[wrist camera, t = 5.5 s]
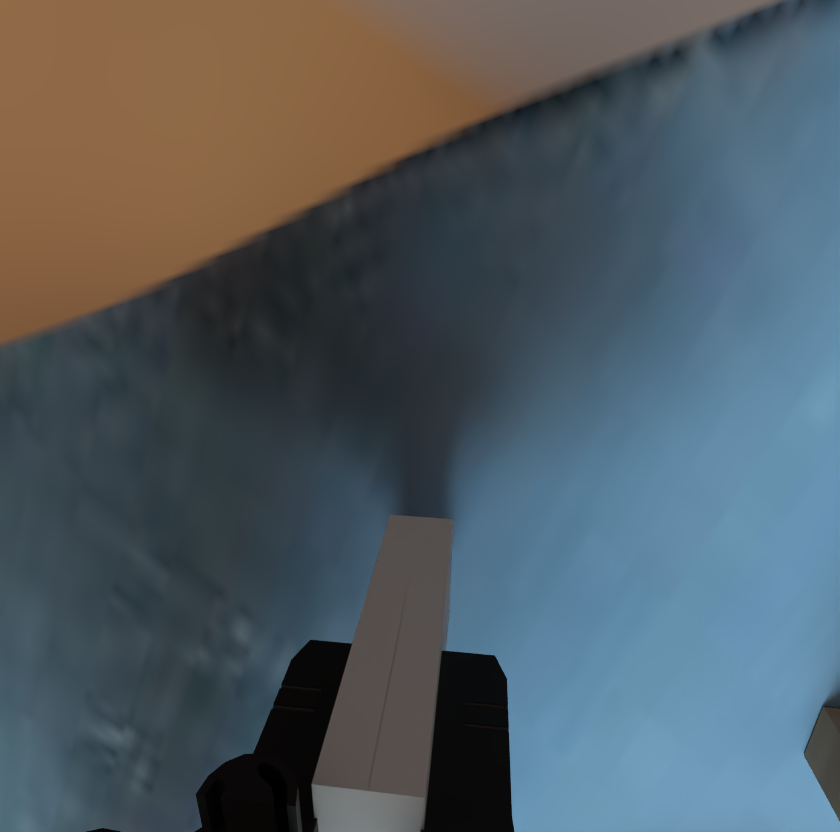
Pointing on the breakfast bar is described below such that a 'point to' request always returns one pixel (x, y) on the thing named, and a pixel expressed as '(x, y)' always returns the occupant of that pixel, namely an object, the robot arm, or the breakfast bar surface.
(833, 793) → the bridge
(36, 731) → the breakfast bar surface
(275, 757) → the robot arm
